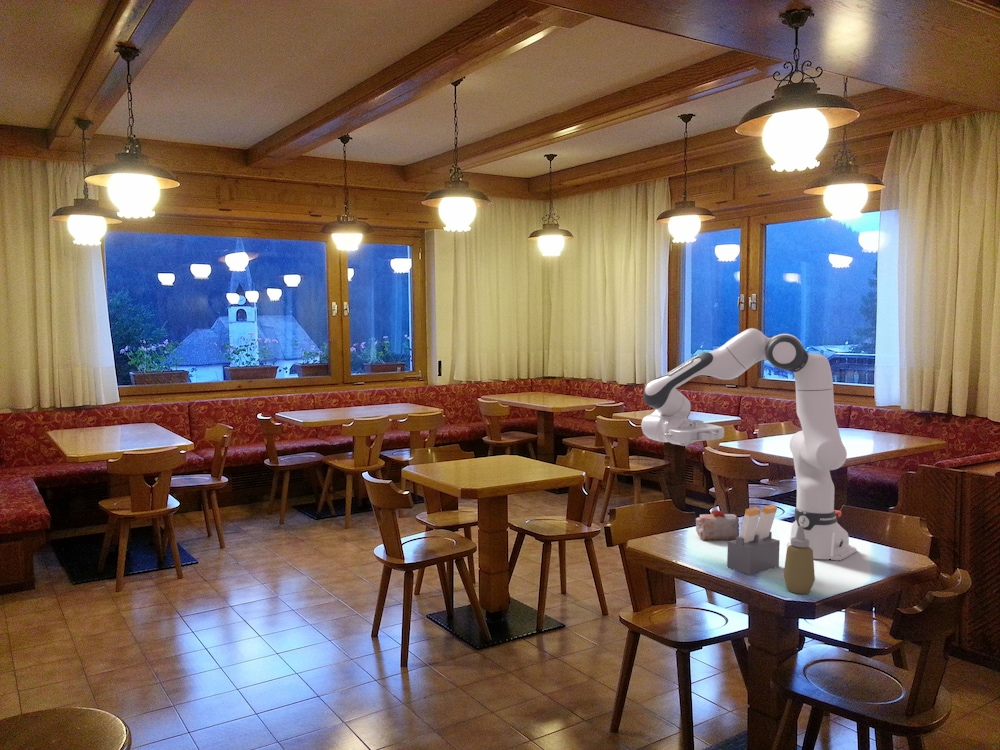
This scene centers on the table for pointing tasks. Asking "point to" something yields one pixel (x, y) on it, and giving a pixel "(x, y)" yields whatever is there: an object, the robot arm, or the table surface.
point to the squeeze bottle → (799, 564)
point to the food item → (717, 526)
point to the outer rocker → (750, 524)
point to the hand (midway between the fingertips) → (716, 437)
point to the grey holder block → (753, 554)
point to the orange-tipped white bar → (765, 521)
